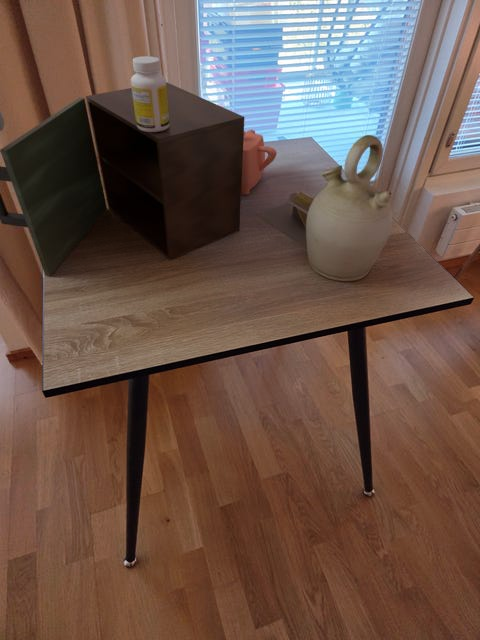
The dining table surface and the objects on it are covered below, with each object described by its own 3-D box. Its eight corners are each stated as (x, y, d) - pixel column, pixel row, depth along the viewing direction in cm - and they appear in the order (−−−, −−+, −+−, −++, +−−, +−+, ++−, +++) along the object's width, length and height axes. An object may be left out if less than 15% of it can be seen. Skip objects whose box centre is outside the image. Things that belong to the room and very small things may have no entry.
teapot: (250, 167, 114) (253, 116, 105) (279, 192, 104) (284, 139, 95) (193, 177, 109) (191, 124, 99) (218, 205, 99) (218, 149, 89)
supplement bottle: (164, 119, 72) (158, 54, 65) (173, 131, 68) (169, 62, 61) (133, 123, 70) (124, 55, 63) (141, 134, 67) (132, 65, 60)
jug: (287, 249, 87) (305, 123, 69) (351, 237, 91) (383, 116, 73) (322, 295, 76) (354, 161, 59) (392, 278, 81) (441, 150, 63)
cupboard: (170, 260, 82) (158, 138, 66) (108, 207, 96) (85, 96, 79) (239, 230, 91) (244, 116, 75) (173, 186, 104) (165, 81, 88)
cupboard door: (11, 270, 78) (-43, 144, 62) (75, 204, 96) (46, 93, 80) (50, 276, 77) (5, 150, 61) (107, 208, 95) (84, 97, 79)
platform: (309, 251, 86) (314, 223, 82) (255, 213, 96) (257, 187, 92) (348, 234, 92) (355, 207, 87) (294, 200, 102) (297, 174, 97)
